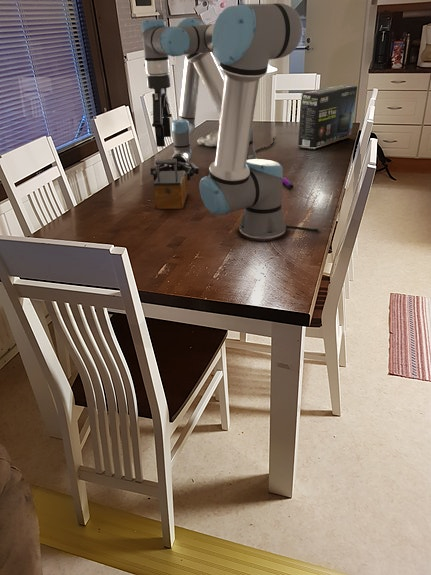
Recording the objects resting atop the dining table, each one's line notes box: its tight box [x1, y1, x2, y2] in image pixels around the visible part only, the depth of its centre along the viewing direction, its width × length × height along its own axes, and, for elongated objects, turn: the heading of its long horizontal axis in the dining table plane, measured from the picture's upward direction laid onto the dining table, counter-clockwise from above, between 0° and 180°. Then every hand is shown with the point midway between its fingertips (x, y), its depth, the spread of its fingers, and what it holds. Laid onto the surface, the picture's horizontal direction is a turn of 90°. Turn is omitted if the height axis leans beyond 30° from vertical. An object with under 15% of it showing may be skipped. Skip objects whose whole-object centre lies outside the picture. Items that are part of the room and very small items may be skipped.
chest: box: [154, 174, 188, 210], centre depth 174 cm, size 14×10×9 cm
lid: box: [153, 158, 186, 187], centre depth 169 cm, size 15×10×9 cm, turn 176°
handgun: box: [283, 176, 294, 190], centre depth 191 cm, size 21×8×2 cm, turn 11°
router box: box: [297, 84, 358, 151], centre depth 238 cm, size 36×11×27 cm, turn 134°
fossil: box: [196, 129, 219, 149], centre depth 250 cm, size 18×11×15 cm
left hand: (171, 177), depth 183 cm, fingers open, 13 cm apart
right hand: (164, 141), depth 159 cm, fingers open, 13 cm apart
